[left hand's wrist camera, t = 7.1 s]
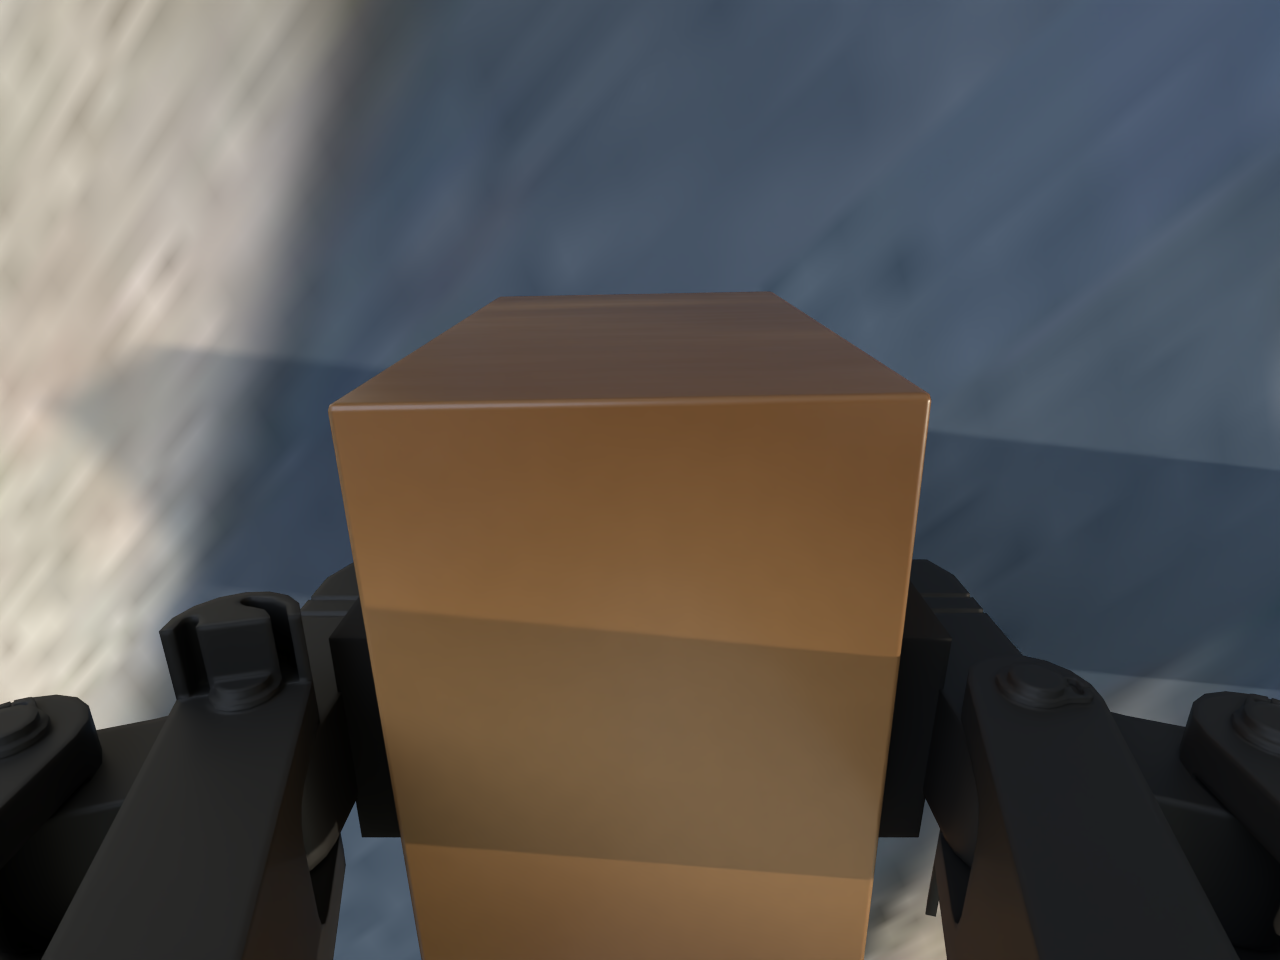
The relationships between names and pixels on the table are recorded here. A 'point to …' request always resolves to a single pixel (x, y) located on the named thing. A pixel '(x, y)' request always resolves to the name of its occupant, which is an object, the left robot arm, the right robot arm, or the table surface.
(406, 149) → the table surface
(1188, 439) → the table surface
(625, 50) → the table surface
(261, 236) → the table surface
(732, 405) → the bar
